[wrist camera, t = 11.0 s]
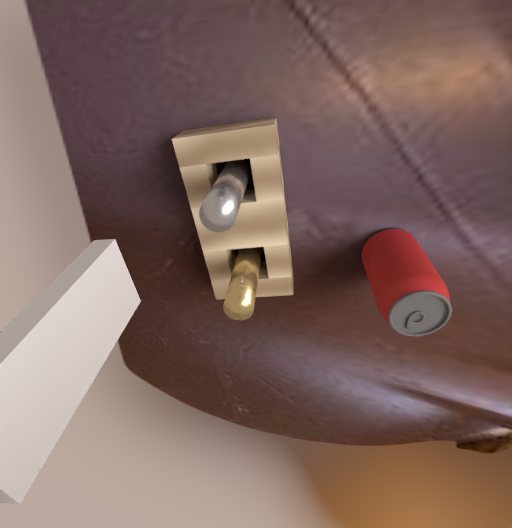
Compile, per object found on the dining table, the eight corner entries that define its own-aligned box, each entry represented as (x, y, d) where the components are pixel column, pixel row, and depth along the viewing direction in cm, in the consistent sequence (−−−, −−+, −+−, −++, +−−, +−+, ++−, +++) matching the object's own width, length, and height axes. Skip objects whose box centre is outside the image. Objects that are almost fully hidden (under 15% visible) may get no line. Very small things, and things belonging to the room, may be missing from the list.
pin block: (183, 130, 34) (171, 139, 31) (276, 117, 32) (274, 124, 29) (221, 281, 45) (216, 299, 41) (293, 276, 43) (293, 294, 40)
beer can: (351, 264, 41) (370, 331, 31) (374, 219, 38) (404, 279, 28) (399, 277, 42) (432, 347, 32) (426, 234, 38) (474, 298, 28)
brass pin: (237, 238, 41) (220, 298, 31) (260, 236, 40) (250, 296, 30) (241, 258, 42) (226, 321, 32) (264, 256, 42) (255, 319, 32)
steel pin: (222, 159, 35) (195, 200, 25) (248, 156, 35) (232, 196, 25) (227, 185, 37) (203, 233, 27) (252, 182, 37) (238, 231, 27)
